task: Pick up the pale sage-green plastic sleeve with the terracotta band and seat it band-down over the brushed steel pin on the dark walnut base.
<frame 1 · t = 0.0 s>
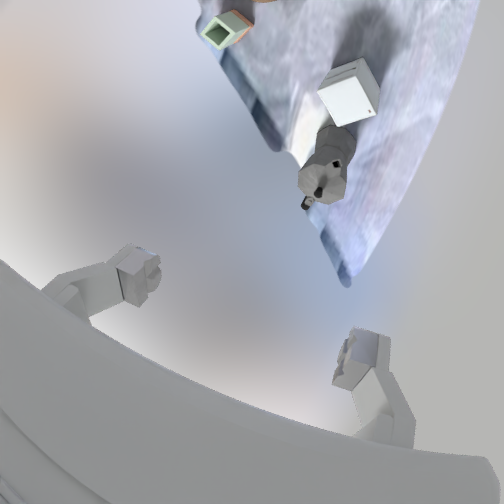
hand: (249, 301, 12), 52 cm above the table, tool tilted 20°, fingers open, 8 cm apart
supplement box: (355, 78, 47), on the table
sleeve: (236, 25, 46), on the table
coffeepot: (334, 146, 62), on the table
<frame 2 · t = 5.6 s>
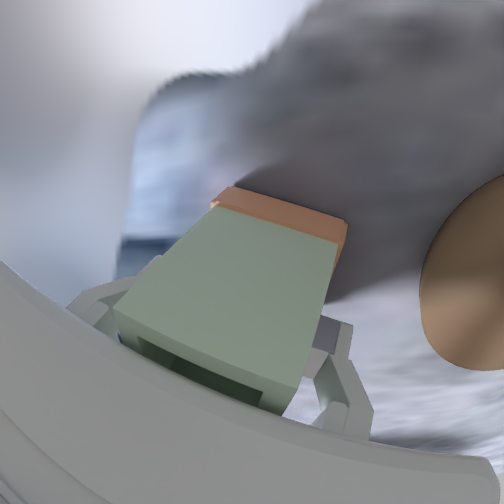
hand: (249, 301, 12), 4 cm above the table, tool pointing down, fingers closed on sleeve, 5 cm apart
sleeve: (277, 250, 14), on the table, touching gripper
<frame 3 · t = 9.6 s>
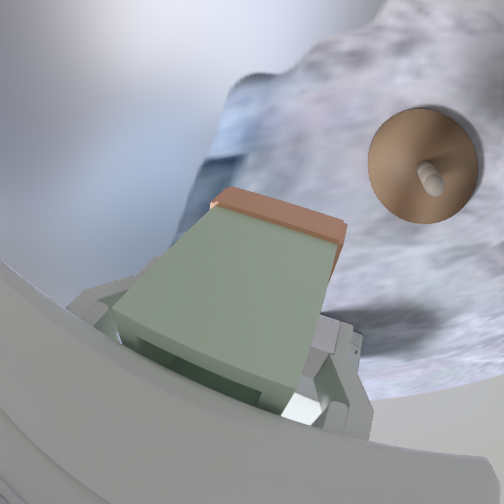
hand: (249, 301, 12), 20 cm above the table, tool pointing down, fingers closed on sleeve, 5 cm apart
supplement box: (328, 336, 40), on the table
sleeve: (276, 250, 14), point 17 cm above the table, touching gripper
pin base: (423, 165, 24), on the table
when the fingers open (6 cm above the table, at t = 13.7 s): sleeve drops 1 cm, resting on pin base.
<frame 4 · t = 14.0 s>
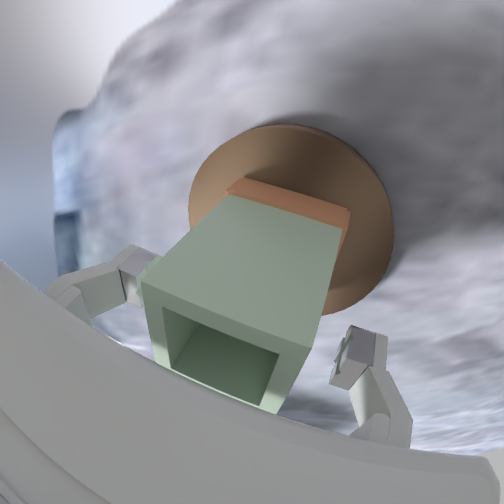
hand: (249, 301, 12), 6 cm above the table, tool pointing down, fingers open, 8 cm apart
sleeve: (284, 237, 15), point 1 cm above the table, touching pin base
pin base: (289, 226, 16), on the table
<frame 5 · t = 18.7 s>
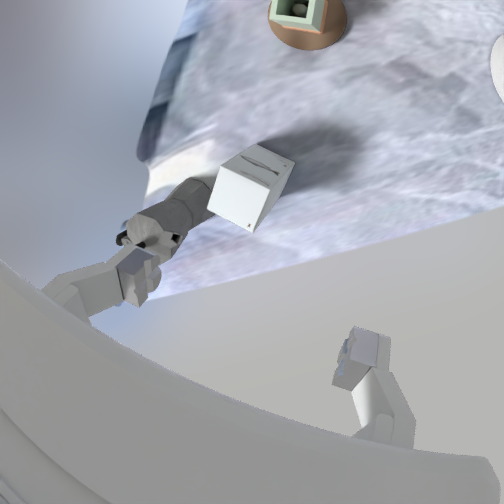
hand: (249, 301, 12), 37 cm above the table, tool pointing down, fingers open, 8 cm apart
supplement box: (267, 170, 48), on the table
sleeve: (306, 15, 31), point 1 cm above the table, touching pin base
coffeepot: (191, 200, 57), on the table
pin base: (307, 16, 32), on the table
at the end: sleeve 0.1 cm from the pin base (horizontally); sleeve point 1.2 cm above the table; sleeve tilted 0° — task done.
